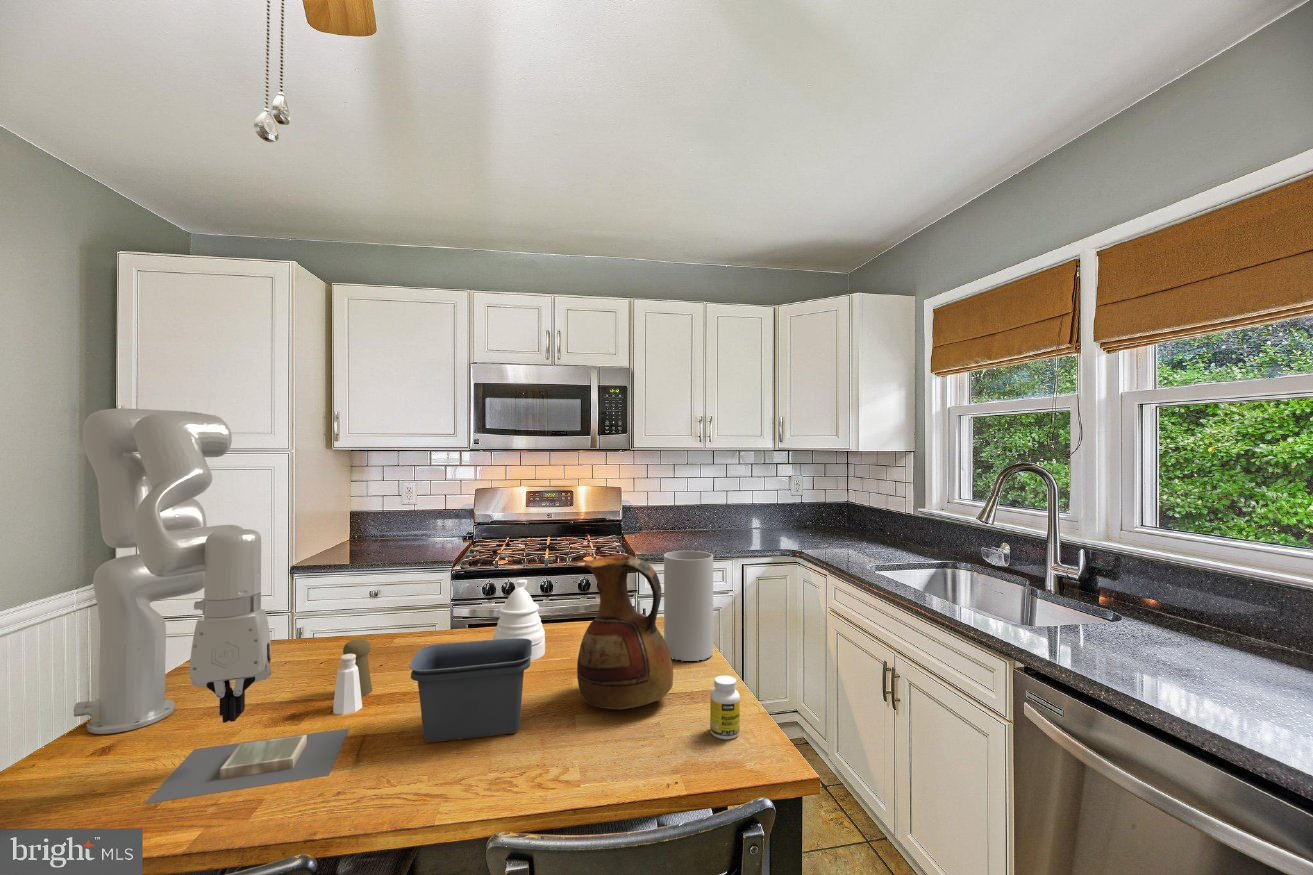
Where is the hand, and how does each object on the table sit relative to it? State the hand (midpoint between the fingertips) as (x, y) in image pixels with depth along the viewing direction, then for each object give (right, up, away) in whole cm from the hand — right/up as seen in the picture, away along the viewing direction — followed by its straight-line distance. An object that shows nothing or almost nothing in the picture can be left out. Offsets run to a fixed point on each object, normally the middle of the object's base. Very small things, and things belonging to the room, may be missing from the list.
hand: (232, 718), depth 94 cm
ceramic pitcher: (+63, -9, +25) cm, 68 cm away
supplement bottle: (+82, -9, +12) cm, 83 cm away
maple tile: (0, -7, 0) cm, 7 cm away
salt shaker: (+8, -9, +20) cm, 24 cm away
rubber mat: (+4, -8, +1) cm, 9 cm away
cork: (+5, -9, +29) cm, 31 cm away
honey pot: (+35, -9, +52) cm, 63 cm away
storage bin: (+35, -9, +14) cm, 39 cm away
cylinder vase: (+78, -9, +52) cm, 94 cm away
